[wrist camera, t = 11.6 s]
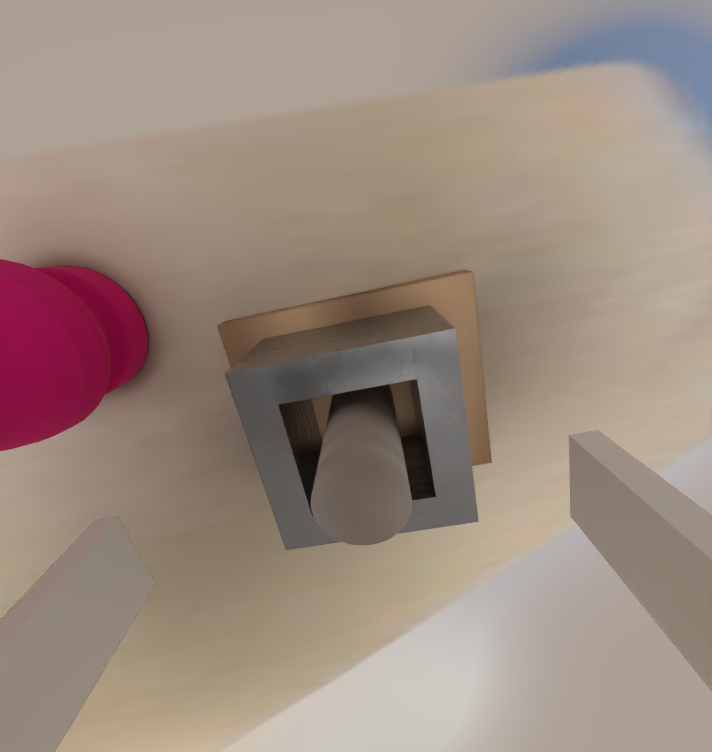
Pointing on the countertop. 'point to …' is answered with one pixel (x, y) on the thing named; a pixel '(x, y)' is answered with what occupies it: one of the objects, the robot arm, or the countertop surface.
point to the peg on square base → (374, 406)
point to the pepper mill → (61, 348)
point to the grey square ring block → (348, 373)
